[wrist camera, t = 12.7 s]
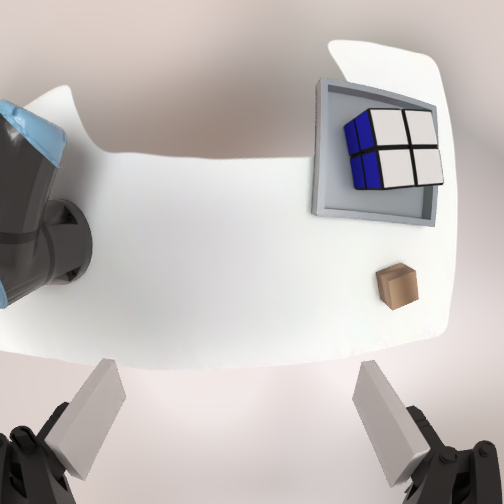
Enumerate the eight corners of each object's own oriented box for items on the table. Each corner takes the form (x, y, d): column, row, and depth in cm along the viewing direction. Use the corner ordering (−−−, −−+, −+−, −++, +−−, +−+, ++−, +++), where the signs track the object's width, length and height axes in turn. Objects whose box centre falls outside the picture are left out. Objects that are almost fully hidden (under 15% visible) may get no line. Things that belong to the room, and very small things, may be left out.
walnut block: (380, 298, 43) (392, 310, 38) (375, 272, 42) (388, 281, 37) (404, 288, 43) (418, 299, 38) (400, 262, 42) (415, 270, 37)
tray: (311, 213, 40) (316, 215, 37) (315, 86, 36) (320, 77, 32) (423, 224, 40) (434, 227, 37) (425, 110, 36) (436, 106, 32)
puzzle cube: (342, 125, 36) (366, 107, 27) (398, 123, 36) (432, 109, 26) (353, 190, 39) (382, 191, 29) (409, 184, 38) (445, 184, 28)
